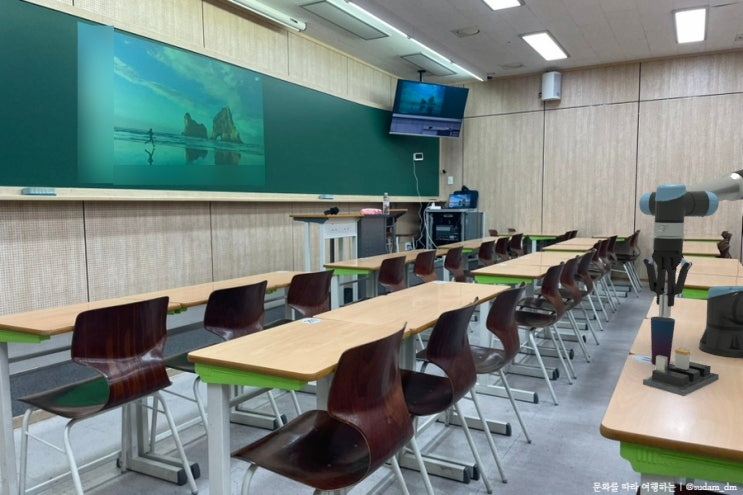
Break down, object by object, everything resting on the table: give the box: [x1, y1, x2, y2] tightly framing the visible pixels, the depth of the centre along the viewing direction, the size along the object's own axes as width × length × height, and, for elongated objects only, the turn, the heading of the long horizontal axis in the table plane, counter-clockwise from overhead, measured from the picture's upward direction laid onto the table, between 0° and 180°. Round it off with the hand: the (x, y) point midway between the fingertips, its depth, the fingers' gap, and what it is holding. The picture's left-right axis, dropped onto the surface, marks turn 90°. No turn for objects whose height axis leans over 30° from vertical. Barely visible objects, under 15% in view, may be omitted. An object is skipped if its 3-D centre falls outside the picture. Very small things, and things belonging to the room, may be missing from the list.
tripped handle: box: [674, 348, 691, 370], centre depth 150 cm, size 2×3×5 cm
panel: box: [642, 346, 720, 397], centre depth 151 cm, size 22×11×8 cm, turn 126°
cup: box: [650, 315, 676, 366], centre depth 167 cm, size 7×7×15 cm
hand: (664, 316), depth 154 cm, fingers closed
